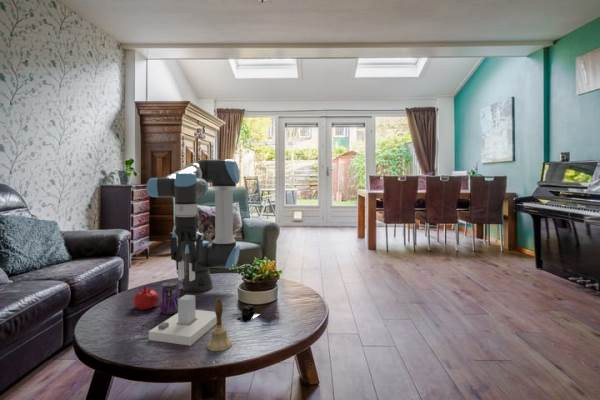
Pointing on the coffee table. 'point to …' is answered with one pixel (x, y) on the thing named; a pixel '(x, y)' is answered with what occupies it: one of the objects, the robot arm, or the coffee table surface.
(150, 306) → the pomegranate
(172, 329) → the socket plate
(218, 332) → the hand bell
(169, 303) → the beverage can
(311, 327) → the coffee table surface
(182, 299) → the plug
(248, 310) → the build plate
